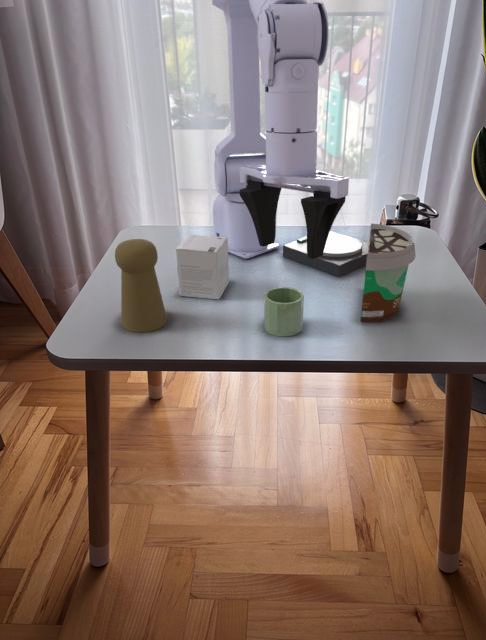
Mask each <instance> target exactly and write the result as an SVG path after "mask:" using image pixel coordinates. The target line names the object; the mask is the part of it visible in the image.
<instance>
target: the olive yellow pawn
mask: <svg viewBox="0 0 486 640" xmlns="http://www.w3.org/2000/svg"><path fill="white" fill-rule="evenodd" d="M158 258H159V257H158V250H157V247H156V245H155V244H154V243H153V242H152V241H150V240H148V239H143V238H131V239H127V240H123V241H122V242H120V243H119V244H117V246H116V248H115V250H114V260H115V263H116V265H117V267H118V268H119V269H120V270H121V277H120V279H121V286H120V287H121V288H120V291H121V292H120V293H121V294H120V295H121V296H120V298H121V300H120V301H121V302H120V305H121V307H120V308H121V310H120V314H121V315H120V319H121V320H120V321H121V322H120V324H121V327H122V328H123V329H124V330H126V331H128V332H132V333H149V332H153V331H157V330H159V329H161V328H163V327H164V326H165V325H167V322H168V317H167V312H166V309H165V305H164V300H163V296H162V292H161V288H160V284H159V280H158V276H157V272H156V268H155V266H156V265H157V263H158Z"/></svg>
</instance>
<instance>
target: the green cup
mask: <svg viewBox="0 0 486 640" xmlns="http://www.w3.org/2000/svg"><path fill="white" fill-rule="evenodd" d="M263 296H264V297H263V311H264V312H263V324H264V325H263V327H264V330H265V331H266V333H268V334H270V335H272V336H275V337H292V336H295V335H297V334H300V332H302V330H303V324H304V303H305V302H304V301H305V295H304V293H303V292H302V291H301V290H299V289H297V288H293V287H288V286H281V287H280V286H279V287H273V288H271V289H267V291H265V293H264V294H263Z"/></svg>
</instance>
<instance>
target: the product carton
mask: <svg viewBox="0 0 486 640" xmlns="http://www.w3.org/2000/svg"><path fill="white" fill-rule="evenodd" d="M175 253H176V267H177V281H178V293H179V296H181V297H186V298H187V297H188V298H196V299H197V298H198V299H209V300H221V297H222V295H223V294H224V292H225V290H226V288H227V287H228V285H229V283H230V265H229V252H228V238H227V237H215V236H214V235H213V236H212V235H201V234H194V233H193V234H192V233H191V234H188V235H187V236H186V237H185V238H184V239H183V240H182V242H180V244H179V245H178V246H177V247H176V248H175Z"/></svg>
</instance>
